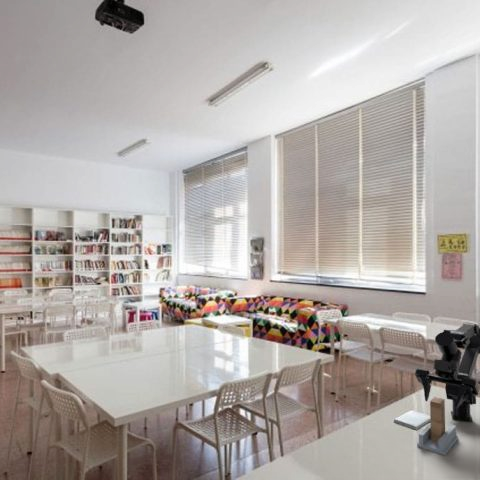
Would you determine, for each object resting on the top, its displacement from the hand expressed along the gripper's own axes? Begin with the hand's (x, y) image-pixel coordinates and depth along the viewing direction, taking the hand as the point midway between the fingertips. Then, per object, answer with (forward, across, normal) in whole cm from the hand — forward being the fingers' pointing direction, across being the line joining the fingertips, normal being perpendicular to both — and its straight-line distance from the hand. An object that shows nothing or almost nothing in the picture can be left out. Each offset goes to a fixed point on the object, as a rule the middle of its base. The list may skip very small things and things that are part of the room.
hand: (440, 404), depth 131 cm
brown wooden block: (+10, 0, +5) cm, 11 cm away
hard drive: (+3, -12, +14) cm, 19 cm away
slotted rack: (+10, 0, +6) cm, 12 cm away
